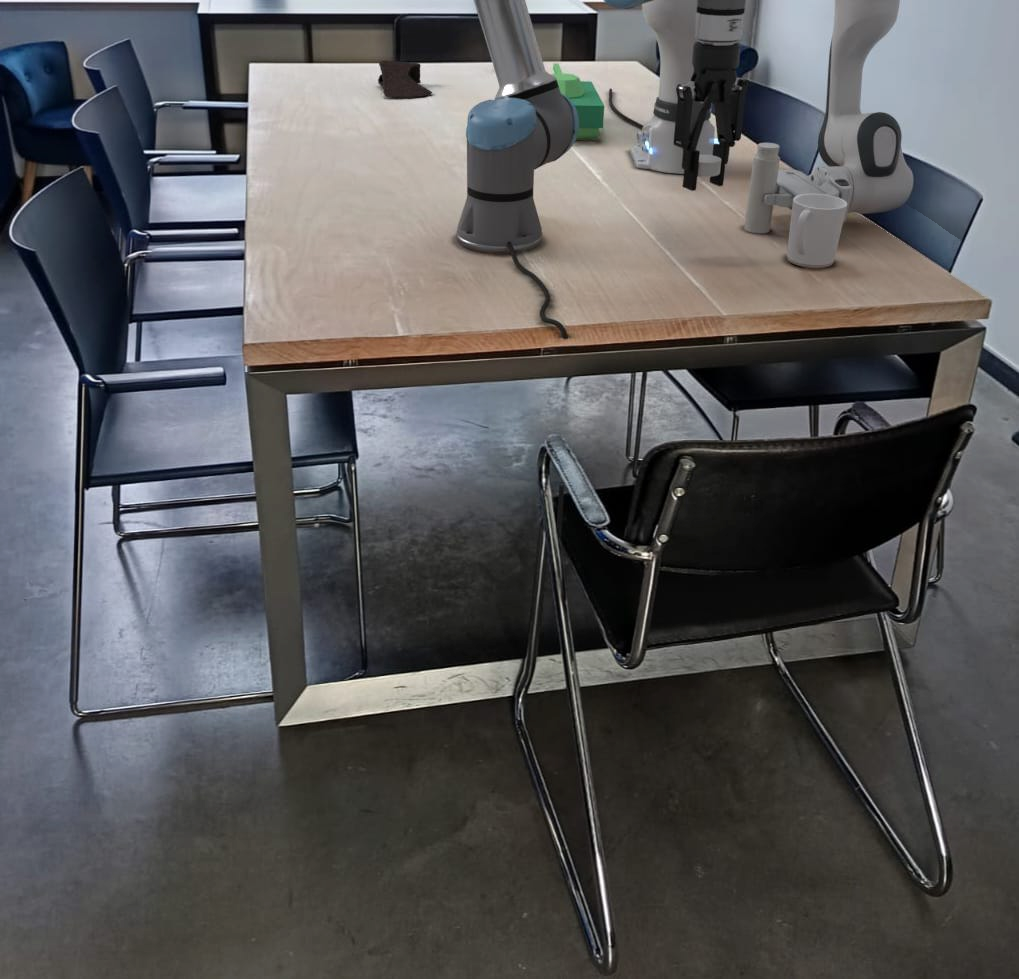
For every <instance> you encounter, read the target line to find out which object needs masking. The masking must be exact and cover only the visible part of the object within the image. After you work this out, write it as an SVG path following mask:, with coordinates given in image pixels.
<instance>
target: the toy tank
mask: <svg viewBox="0 0 1019 979" xmlns="http://www.w3.org/2000/svg"><path fill="white" fill-rule="evenodd" d="M552 70H553V73H550V74H551V75H552V76H554V77H556V79H557V82H558V85H559V89H560V92H561V93H562V94H564V95H565V96H566V97H567V98H569V99H570V100H571V101H572V103H573V104H574V106H575V108H576V110H577V114H578V118H579V129H578V134H577V138H576V140H575V141H577V140H578V141H579V140H580V141H598V140H599V137H600V129H602V130H603V129H604V119H605V118H604V117H605V104H604V102H603V100H602V99H601V97H600V95H599V93H598V90H597V89H596V87H595V85H594V83H593V82H592V81H586V80H585V81H584V80H583V81H582V80H581V79H580V77H579V76H577V75H576V74H573V73H566V72H565V73H564V72H563V71H562V68H561V66H560V64H559V63H552Z"/></svg>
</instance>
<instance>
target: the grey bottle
mask: <svg viewBox="0 0 1019 979" xmlns="http://www.w3.org/2000/svg"><path fill="white" fill-rule="evenodd" d="M756 148H757V150H756V154H754V155H753V159H752V160H753V161H752V166H751V167H752V168H751V176H750V183H749V188H750V189H749V188H748V196H747V206H746V211H745V220H744V228H743V229H744V230H745V231H746V232H749V233H753V234H767V233H769V232H770V231H771V225H772V218H773V211H774V205H766V204H764V203H763V202H762V199H763V194H765V193H773V194H775V191H776V184H777V177H778V170H779V169H780V164H781V157H780V156H779V152H780V148H781V146H780V145H779V144H778V143H774V142H760V143H758V144H757V146H756Z"/></svg>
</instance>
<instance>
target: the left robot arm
mask: <svg viewBox="0 0 1019 979" xmlns="http://www.w3.org/2000/svg"><path fill="white" fill-rule="evenodd" d="M650 1H653V0H603V2H604V3H605V4H606V5H608V6H609V7H612V8H615V9H624V10H625V9H626V10H628V9H634V8H636V7H639V6H642V4H644V3H647V2H650ZM473 3H474V6H475V9H476V12H477V16H478V20H479V23H480V26H481V30H482V32H483V35H484V39H485V43H486V45H487V50H488V53H489V56H490V59H491V63H492V66H493V69H494V72H495V76H496V79H497V83H498V90H497V92H496V94H495V96H494V99H487V100H484V101H483V100H482V101H481V102H479V103H477V104H475V105H474V106H473V107H471V109H470V111H469V112H468V115H467V120H466V121H467V122H466V128H465V138H466V192H467V193H466V198H465V202H464V205H463V209H462V211H461V214H460V218H459V220H458V224H457V228H456V241H457V243H458V244H459V245H461V246H462V247H464V248H466V249H468V250H470V251H475V252H479V253H486V254H497V255H499V254H500V255H506V254H507V255H508V254H510V256H511V258H512V261H513V263H514V265H515V266H516V268H517V270H519V271H520V272H521V273H523V274H524V275H526V276H527V277H529V278H531V280H532V281H534V282H535V283H536V285H538V287H539V288H540V290H541V291H542V293H543V295H544V302H543V303H542V306H541V307H540V309H539V317H540V320H541V321H542V322H543V323H546V324H549V325H552V326H555V327H557V329H558V330H559V331H560V333H561V337H562V339H563V340H568V339H569V335H568V333H567V330H566V328H565V327H564V325H563V324H562V323H561V322H560V321H558V320H556V319H555V318H551V317H547V316H546V311H547V308H548V307H549V305H550V303H551V295H550V292H549V289H548V288H547V286H546V285H545V283H543V281H542V280H541V279H540V278H539V277H538V276H537V275H536V274H535V273H534V272H532V271H530V270H529V269H527V268H526V267H525V266H523V265H522V264H521V262H520V261H519V259H518V255H517V253H524V252H527V251H530V250H533V249H536V248H538V247H539V246H540V245H541V244H542V243H543V229H542V224H541V221H540V220H541V219H540V218H539V214H538V213H539V212H538V210H537V206H536V204H535V199H534V184H535V181H534V180H535V170H538V169H539V168H541V167H543V166H545V165H547V164H550V163H553V162H555V161H557V160H559V159H560V158H561V157H563V155H565V154H566V153H567V152H569V151H570V150H571V148H573V145H574V144H575V142H576V141H577V140H576V138H577V134H578V129H579V118H578V114H577V110H576V108H575V106H574V104H573V103H572V101H571V100H570V99H569V98H567V97H566V96H565V95H564V94H562V93H561V92H560V89H559V85H558V82H557V79H556V77H554V76H552V75H551V74H552V73H549V72H548V71H547V70H546V68H545V64H544V60H543V56H542V54H541V50H540V48H539V47H540V46H539V44H538V40H537V37H536V33H535V30H534V26H533V23H532V19H531V16H530V12H529V9H528V5H527V1H526V0H473ZM745 9H746V0H697V12H696V22H695V32H694V37H695V38H696V39H697V41H696V42H695V43H694V45H693V56H692V65H693V68H694V72H693V75H692V77H691V80H690V82H688V83H686V84H684V85H681V84H678V85H677V86H676V92H677V98H678V102H677V112H676V122H675V132H674V142H673V144H674V145H675V146H677V147H680V148H682V149H683V157H682V169H684V174H683V178H682V188H685V189H687V190H689V191H692V192H694V191H697V184H698V176H697V175H698V165H699V155H700V151H697V150H696V147H697V144H698V140H699V137H700V134H701V130H702V127H703V124H704V120H705V117H706V113H707V111H708V110H709V109H710V107H711V104H712V106H713V108H714V118H715V130H716V139H718V142H719V143H714V145H713V154H712V156H717V157H719V158H721V168H720V174H719V175H717V176H711V177H709V184H712V185H715V186H718V187H723V186H724V180H725V172H726V166H727V165H728V163H729V158H730V151H731V150H730V149H731V148H734V147H735V146H736V142H739V141H740V140H741V138H742V132H743V121H744V111H745V101H746V95H747V92H748V88H749V85H750V80H748V79H746V78H743V77H738V76H737V72H736V69H737V68H739V65H740V59H741V58H740V56H741V48H742V46H741V44H740V43H739V42H738V41H741V39H742V38H743V29H744V19H745V12H746V11H745ZM693 90H694V92H695V93H693ZM692 96H694V97H693V98H692ZM700 101H701V102H704V103H701V102H700ZM692 106H693V107H692ZM564 493H565V485H561V484H560V485H558V499H557V515H556V516H557V517H556V518H557V519H556V529H557V528H558V533H559V536H560V537H561V538H562V527H563V512H564V496H565V495H564Z"/></svg>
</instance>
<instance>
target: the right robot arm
mask: <svg viewBox="0 0 1019 979" xmlns="http://www.w3.org/2000/svg"><path fill="white" fill-rule="evenodd" d="M900 3H901V0H834V16H833V28H832V36H831V41H830V45H829V54H828V64H827V65H828V66H827V68H828V69H827V82H826V83H827V84H826V86H827V87H826V100H825V102H826V103H825V114H824V117H823V121H822V125H821V127H820V131H819V133H818V138H817V149H818V153H819V156H820V159H821V160H822V161H823V163H824V164H825V165H826V166H818V167H816V168H815V169H814V170H813V172H811V174H809V175H807V174H805V173H804V172H802V171H800V170H799V169H789V168H785V169H784V168H779V170H778V177H777V184H776V191H775V194H773V193H765V194H763V199H762V202H763V203H764V204H766V205H773V206H776V207H783V208H788V209H789V210H790V211H792V204H793V198H794V197H795V196H798V195H802V194H824V195H830V196H835V197H838V198H841V199H843V200H845V201H846V202H847V208H846V212H845V216H844V221H843V223H845V222H846V221H847V217H848V214H850V213H856V214H860V215H865V214H866V215H867V214H878V213H885V212H890V211H894V210H897V209H898V208H901V207H902V206H903V205H904V204H905V203H907V201H908V199H909V198H910V196H911V194H912V191H913V187H914V173H913V172H912V169H911V167H909V165H908V164H907V162H906V160H905V157H904V153H903V148H902V141H903V140H902V139H903V138H902V137H903V134H902V130H901V125H900V124H899V122H898V120H896V118H895V117H894V116H892V115H891V114H889V113H887V112H883V111H878V112H867V113H862V111H861V102H862V101H861V100H862V86H863V84H862V83H863V69H864V65H865V62H866V60H867V58H868V56H869V54H870V53H871V51H872V50H873V49H874V48H875V46H876V45H877V44H878V43H879V42H880V41H881V40H882V39H884V37H886V36H887V35H888V33H889V32H890V31H891V30H892V29H893V27H894V25H895V24H896V22H897V18H898V14H899V9H900ZM641 11H642V15H643V18H644V20H645V22H646V24H647V25H648V26H649V27H650V28H651V29H652V31H653V32H654V35H655V37H656V41H657V45H658V51H659V57H660V59H659V61H660V67H659V68H660V69H659V82H658V83H659V85H658V96H657V97H656V99H655V103H654V104H653V107H654V108H653V111H652V113H653V115H652V116H651V117H650V118H649V119H648V121H647V122H646V123H644V125H643V124H641V123H639V122H637V121H635V120H634V119H631V118H630V117H628V116H627V115H625V114H623V113H622V112H621V111H619V110H618V109H617V107H616V106H615V105H614V104H613V89H612V88H611V87H610V88H609V89H608V104H609V106H610V108H611V110H612V111H613V112H614V113H615V114H616V115H617V116H619V117H620V118H622V120H625V121H626V122H628V123H630V124H632V125H634V126H636V127H637V128H639V129H641V131H640V130H639V131H637V132H636V142H637V143H640V144H637V145H633V146H630V147H629V153H630V155H631V158H632V161H633V163H634V165H635V167H636V168H638V169H645V170H652V171H655V172H660V173H666V174H674V175H675V174H676V175H684V169H682V157H683V149H682V148H680V147H677V146H675V145H674V144H673V142H674V132H675V122H676V112H677V102H678V98H677V92H676V86H677V85H678V84H681V85H684V84H686V83H688V82H690V80H691V77H692V75H693V72H694V68H693V65H692V56H693V45H694V43H695V42H696V41H697V39H696V38H695V37H694V32H695V22H696V12H697V0H653V1H650V2H647V3H644V4H641ZM693 93H695V92H694V90H693ZM693 97H694V96H692V98H693ZM700 102H701V101H700ZM701 103H704V102H701ZM692 107H693V106H692ZM712 112H713V103H712V104H711V107H710V109H709V110H708V111H707V113H706V117H705V120H704V124H703V127H702V130H701V134H700V137H699V140H698V144H697V147H696V150H697V151H700V155H712V154H713V145H714V144H719V142H718V138H715V136H716V126H715V125H714V124H713V123H711V120H710V119H711V117H712ZM749 189H750V187H748V190H749Z"/></svg>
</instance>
